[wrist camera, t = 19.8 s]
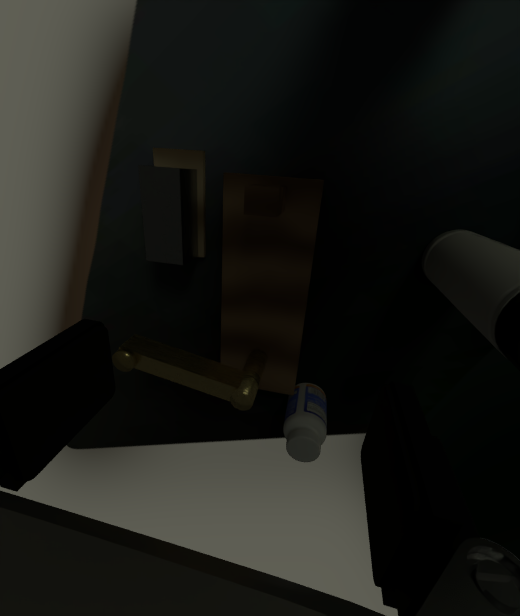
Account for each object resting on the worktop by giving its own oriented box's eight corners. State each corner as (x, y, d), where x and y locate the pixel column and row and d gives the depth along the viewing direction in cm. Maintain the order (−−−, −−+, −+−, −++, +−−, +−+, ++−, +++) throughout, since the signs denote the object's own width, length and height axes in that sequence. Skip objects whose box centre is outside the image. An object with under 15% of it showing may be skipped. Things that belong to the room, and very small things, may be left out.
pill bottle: (294, 413, 46) (287, 469, 37) (284, 384, 44) (273, 435, 36) (330, 409, 44) (331, 466, 36) (321, 378, 43) (319, 430, 34)
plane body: (234, 173, 34) (205, 172, 26) (324, 179, 33) (322, 180, 25) (228, 365, 45) (207, 406, 37) (296, 377, 43) (289, 423, 35)
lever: (269, 353, 38) (254, 398, 30) (264, 368, 39) (249, 415, 31) (155, 314, 39) (112, 349, 31) (153, 330, 40) (111, 367, 32)
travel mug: (440, 297, 35) (556, 424, 17) (409, 252, 34) (501, 337, 16) (497, 266, 33) (703, 376, 15) (467, 216, 32) (652, 269, 14)
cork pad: (155, 148, 35) (152, 147, 35) (205, 151, 34) (203, 151, 34) (162, 251, 40) (159, 252, 40) (205, 256, 39) (203, 257, 39)
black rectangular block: (160, 166, 35) (138, 165, 31) (196, 169, 35) (179, 168, 31) (165, 251, 39) (146, 260, 35) (198, 255, 39) (182, 265, 35)
